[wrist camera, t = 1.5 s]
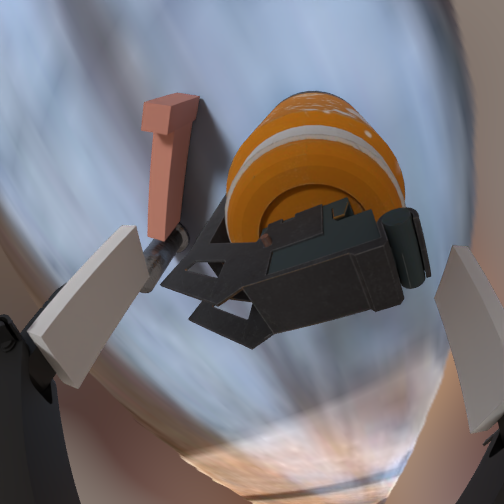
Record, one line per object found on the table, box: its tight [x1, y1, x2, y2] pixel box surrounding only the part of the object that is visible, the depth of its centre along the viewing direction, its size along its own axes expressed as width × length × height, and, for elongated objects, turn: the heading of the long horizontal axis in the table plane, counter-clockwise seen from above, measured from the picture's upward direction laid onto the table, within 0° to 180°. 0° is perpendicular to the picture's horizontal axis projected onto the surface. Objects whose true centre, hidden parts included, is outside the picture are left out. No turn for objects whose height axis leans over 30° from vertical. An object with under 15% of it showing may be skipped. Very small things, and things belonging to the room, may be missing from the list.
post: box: [140, 223, 189, 293], centre depth 30 cm, size 4×4×8 cm
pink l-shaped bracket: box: [141, 93, 200, 241], centre depth 26 cm, size 2×13×6 cm, turn 168°
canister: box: [160, 91, 431, 349], centre depth 17 cm, size 9×11×20 cm
